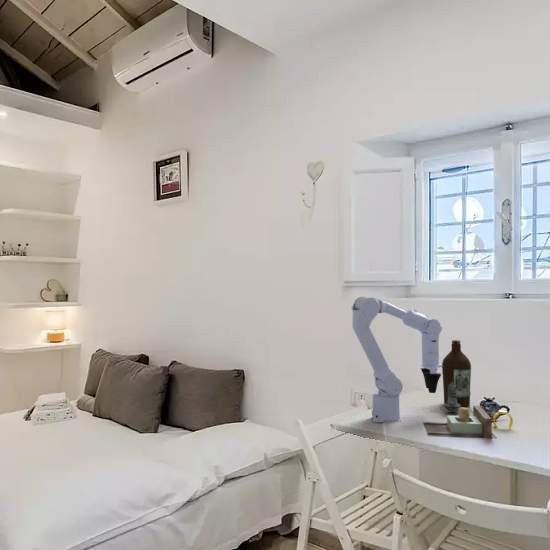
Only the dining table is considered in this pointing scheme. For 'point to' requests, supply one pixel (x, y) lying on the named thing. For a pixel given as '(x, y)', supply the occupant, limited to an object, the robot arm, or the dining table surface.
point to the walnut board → (486, 432)
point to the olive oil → (457, 374)
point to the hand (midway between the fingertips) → (430, 390)
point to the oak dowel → (463, 414)
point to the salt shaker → (452, 400)
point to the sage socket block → (464, 425)
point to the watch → (502, 413)
